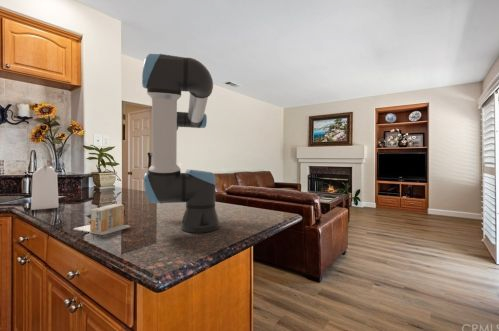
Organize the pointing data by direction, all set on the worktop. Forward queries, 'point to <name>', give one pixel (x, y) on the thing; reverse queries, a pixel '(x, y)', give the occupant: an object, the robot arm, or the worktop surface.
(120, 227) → the mat
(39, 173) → the milk
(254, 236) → the worktop surface
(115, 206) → the supplement box
